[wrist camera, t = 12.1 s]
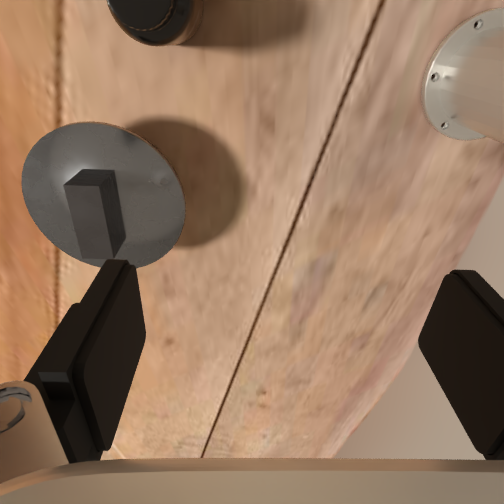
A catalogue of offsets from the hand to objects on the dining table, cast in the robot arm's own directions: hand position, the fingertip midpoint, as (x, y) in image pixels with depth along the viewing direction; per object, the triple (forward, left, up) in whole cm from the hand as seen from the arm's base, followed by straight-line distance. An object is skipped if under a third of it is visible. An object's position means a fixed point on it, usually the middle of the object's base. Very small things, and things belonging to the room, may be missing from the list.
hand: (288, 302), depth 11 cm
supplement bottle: (+9, -9, -34) cm, 36 cm away
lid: (+16, +10, -27) cm, 33 cm away
